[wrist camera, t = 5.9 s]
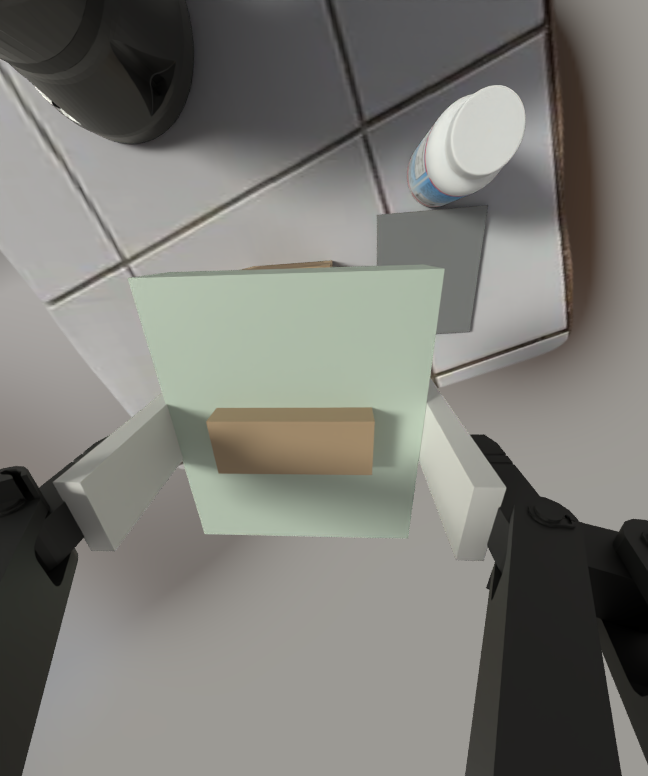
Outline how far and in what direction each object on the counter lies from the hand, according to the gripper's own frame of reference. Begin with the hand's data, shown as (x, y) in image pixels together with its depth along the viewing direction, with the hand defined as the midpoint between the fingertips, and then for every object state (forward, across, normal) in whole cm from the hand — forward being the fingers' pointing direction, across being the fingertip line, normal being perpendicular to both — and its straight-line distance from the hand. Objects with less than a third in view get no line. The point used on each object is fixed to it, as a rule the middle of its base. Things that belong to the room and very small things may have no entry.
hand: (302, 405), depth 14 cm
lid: (0, 0, 0) cm, 0 cm away
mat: (+24, +12, +3) cm, 27 cm away
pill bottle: (+24, +11, +13) cm, 30 cm away
